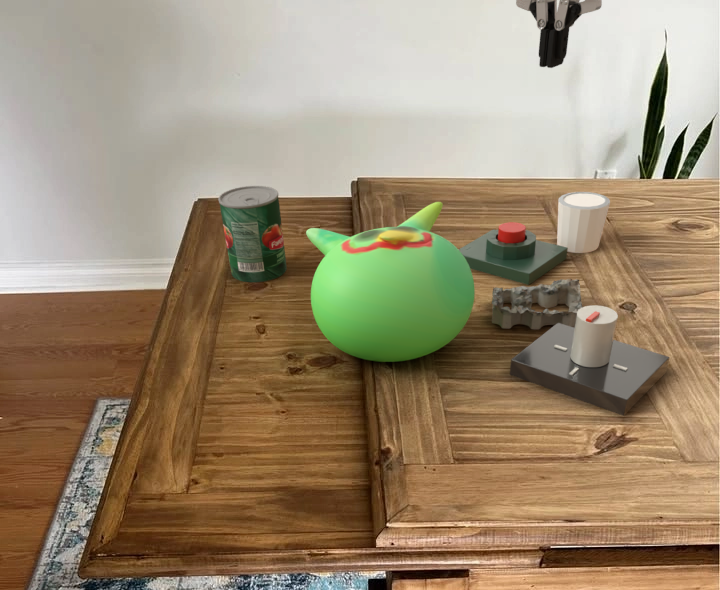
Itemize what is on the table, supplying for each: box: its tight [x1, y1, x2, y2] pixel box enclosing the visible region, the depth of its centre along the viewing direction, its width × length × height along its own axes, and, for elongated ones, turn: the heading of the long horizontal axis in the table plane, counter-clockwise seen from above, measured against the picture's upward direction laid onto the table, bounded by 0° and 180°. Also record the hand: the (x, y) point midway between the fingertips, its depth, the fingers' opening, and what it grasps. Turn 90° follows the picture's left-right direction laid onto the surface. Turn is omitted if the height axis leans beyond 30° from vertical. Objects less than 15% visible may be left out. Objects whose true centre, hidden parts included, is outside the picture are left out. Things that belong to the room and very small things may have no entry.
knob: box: [570, 304, 619, 367], centre depth 75 cm, size 4×4×5 cm
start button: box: [497, 221, 527, 243], centre depth 98 cm, size 4×4×2 cm
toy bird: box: [305, 201, 476, 363], centre depth 81 cm, size 18×17×15 cm
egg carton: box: [491, 278, 583, 330], centre depth 87 cm, size 11×8×4 cm
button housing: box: [457, 229, 568, 286], centre depth 100 cm, size 12×10×4 cm
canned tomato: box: [217, 185, 288, 283], centre depth 99 cm, size 8×8×11 cm
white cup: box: [556, 191, 611, 254], centre depth 102 cm, size 7×7×7 cm
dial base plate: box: [509, 323, 670, 417], centre depth 77 cm, size 13×10×3 cm
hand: (551, 64), depth 91 cm, fingers closed
